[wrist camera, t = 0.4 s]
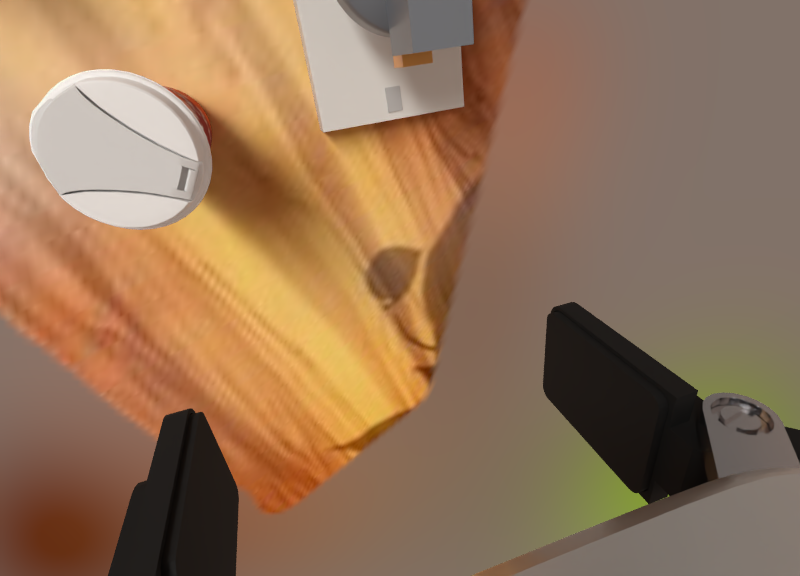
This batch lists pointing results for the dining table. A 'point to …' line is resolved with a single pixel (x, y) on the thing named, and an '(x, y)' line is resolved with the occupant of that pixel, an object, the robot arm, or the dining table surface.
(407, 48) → the lock knob
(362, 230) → the dining table surface
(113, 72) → the paper cup
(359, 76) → the base
